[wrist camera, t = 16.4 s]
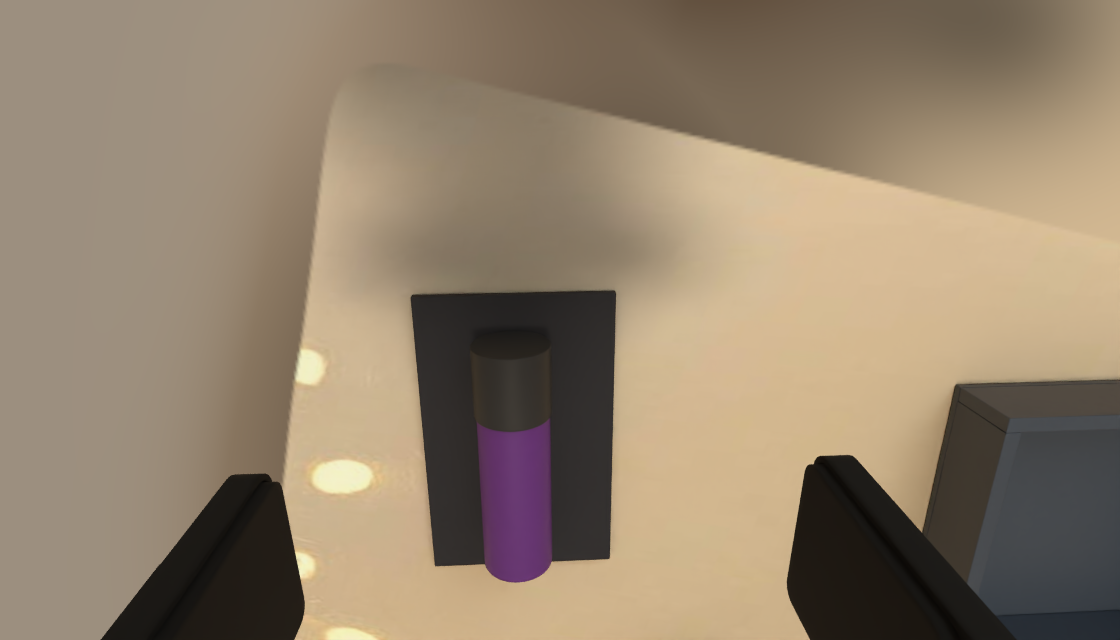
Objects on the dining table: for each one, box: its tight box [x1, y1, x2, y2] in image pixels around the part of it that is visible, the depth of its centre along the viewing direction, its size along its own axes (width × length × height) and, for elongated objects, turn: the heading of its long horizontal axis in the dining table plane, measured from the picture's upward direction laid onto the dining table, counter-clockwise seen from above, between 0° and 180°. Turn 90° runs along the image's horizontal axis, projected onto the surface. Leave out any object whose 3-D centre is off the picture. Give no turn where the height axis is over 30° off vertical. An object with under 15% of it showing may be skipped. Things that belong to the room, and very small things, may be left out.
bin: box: [923, 380, 1120, 640], centre depth 34 cm, size 17×17×4 cm
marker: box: [470, 331, 552, 582], centre depth 30 cm, size 4×12×4 cm, turn 0°
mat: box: [411, 291, 616, 566], centre depth 32 cm, size 16×10×1 cm, turn 0°
